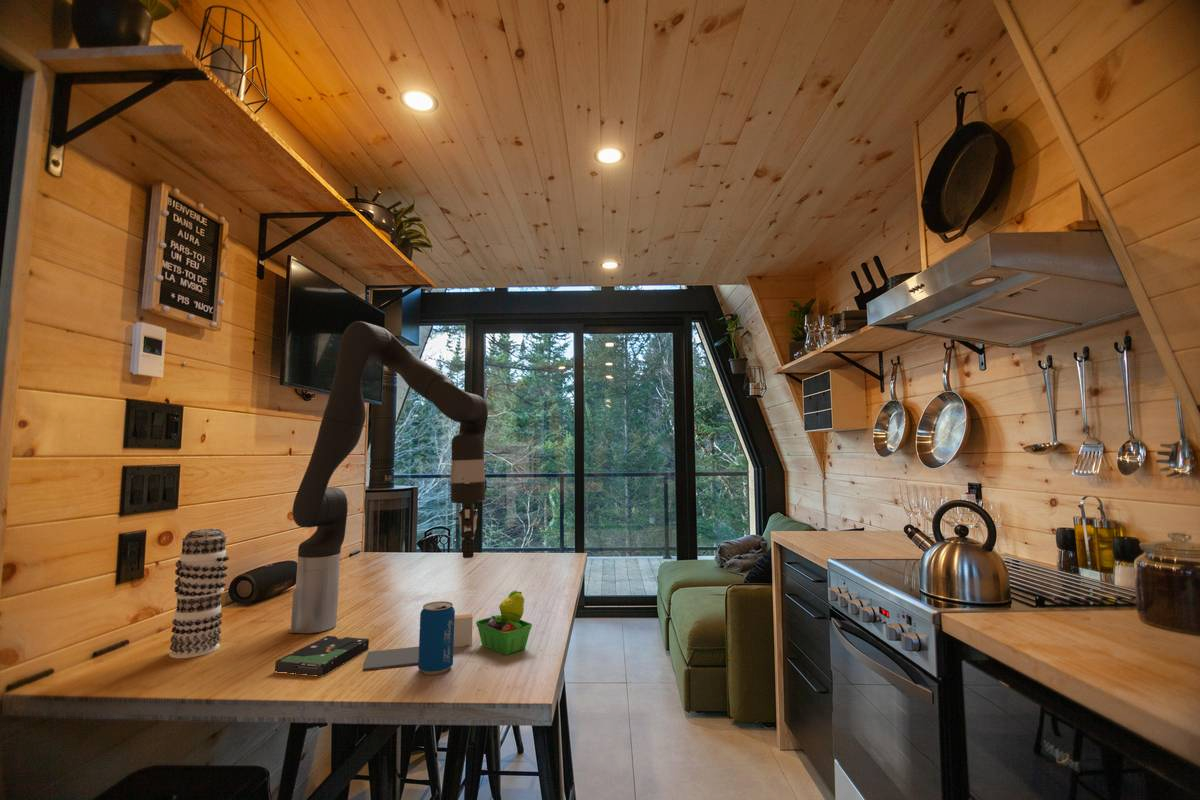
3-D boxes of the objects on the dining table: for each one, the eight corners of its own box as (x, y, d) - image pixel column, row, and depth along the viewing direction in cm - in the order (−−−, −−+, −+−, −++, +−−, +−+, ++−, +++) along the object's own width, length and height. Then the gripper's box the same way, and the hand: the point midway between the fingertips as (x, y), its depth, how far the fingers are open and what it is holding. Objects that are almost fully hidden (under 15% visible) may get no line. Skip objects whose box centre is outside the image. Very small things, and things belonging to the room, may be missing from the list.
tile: (438, 648, 112) (439, 619, 113) (438, 645, 114) (439, 616, 115) (471, 645, 114) (472, 616, 115) (470, 641, 116) (471, 613, 117)
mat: (363, 670, 100) (363, 668, 100) (368, 653, 109) (368, 651, 109) (423, 663, 103) (423, 661, 103) (423, 647, 112) (423, 646, 112)
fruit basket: (473, 645, 114) (474, 592, 115) (506, 635, 120) (507, 585, 122) (504, 659, 106) (506, 601, 107) (538, 647, 113) (538, 593, 114)
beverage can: (433, 679, 96) (436, 611, 98) (410, 671, 100) (413, 606, 101) (460, 667, 102) (462, 603, 103) (437, 660, 105) (439, 599, 107)
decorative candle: (206, 640, 116) (216, 526, 119) (231, 647, 112) (240, 528, 115) (157, 654, 108) (169, 531, 111) (182, 662, 104) (193, 534, 107)
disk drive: (325, 648, 113) (273, 675, 99) (326, 635, 114) (274, 660, 99) (369, 651, 112) (322, 679, 97) (370, 638, 112) (323, 663, 97)
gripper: (452, 480, 123) (453, 551, 121) (448, 482, 109) (449, 561, 107) (484, 479, 125) (486, 548, 123) (484, 480, 111) (486, 558, 109)
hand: (468, 554), depth 115 cm, fingers open, 8 cm apart
